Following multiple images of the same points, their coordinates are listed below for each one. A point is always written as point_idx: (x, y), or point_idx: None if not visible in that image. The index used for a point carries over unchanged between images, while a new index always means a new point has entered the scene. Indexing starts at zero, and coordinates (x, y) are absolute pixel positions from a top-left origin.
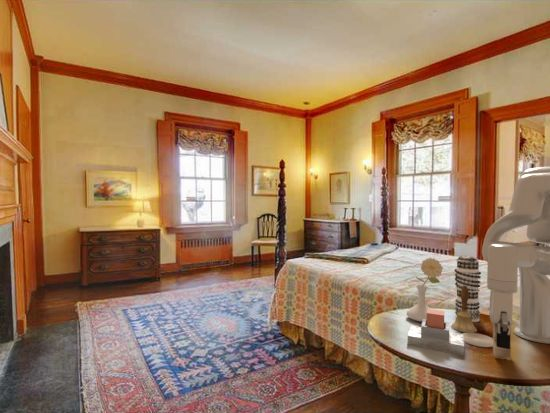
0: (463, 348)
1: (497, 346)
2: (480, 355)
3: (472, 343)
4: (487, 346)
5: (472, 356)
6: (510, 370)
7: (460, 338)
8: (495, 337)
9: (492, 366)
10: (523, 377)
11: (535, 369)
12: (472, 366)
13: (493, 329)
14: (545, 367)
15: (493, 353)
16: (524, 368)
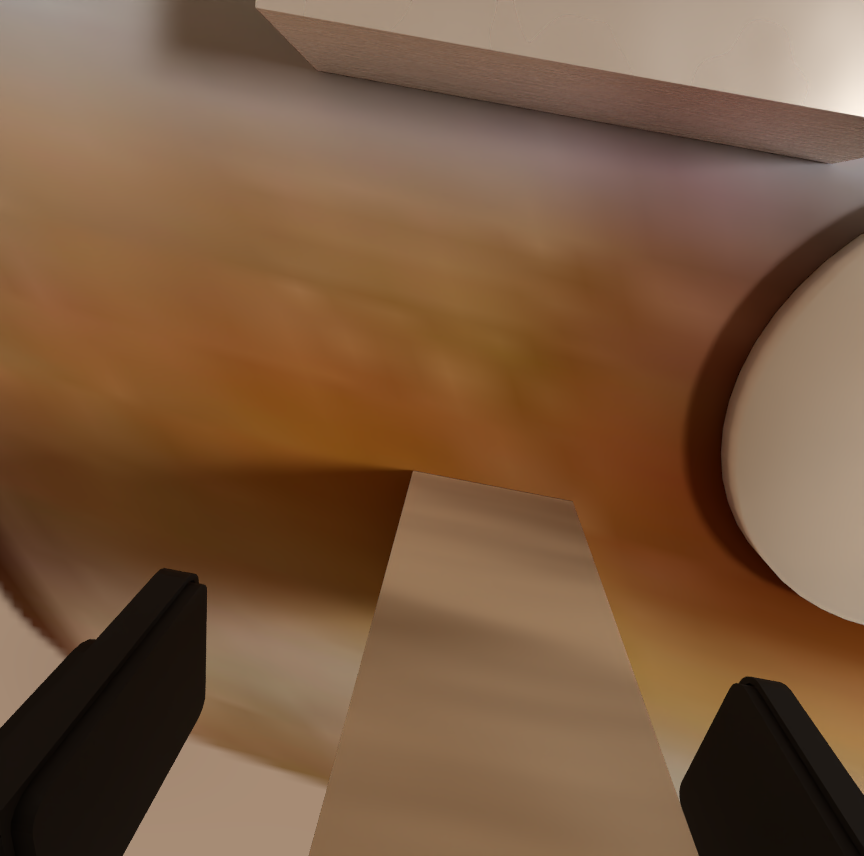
0: (279, 21)
1: (163, 574)
2: (420, 325)
3: (793, 310)
4: (727, 491)
5: (345, 205)
6: (144, 523)
7: (688, 12)
8: (360, 671)
9: (148, 379)
10: (52, 578)
11: (277, 719)
12: (13, 126)
13: (595, 801)
14: None
15: (506, 494)
16: (255, 650)
